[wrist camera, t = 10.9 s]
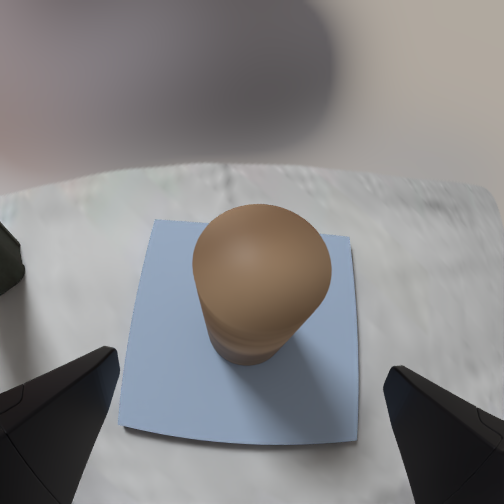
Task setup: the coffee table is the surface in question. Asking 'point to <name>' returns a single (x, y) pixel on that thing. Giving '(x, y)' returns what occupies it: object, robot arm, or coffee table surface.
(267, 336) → the walnut pillar
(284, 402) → the blue mat
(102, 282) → the coffee table surface
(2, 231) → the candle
